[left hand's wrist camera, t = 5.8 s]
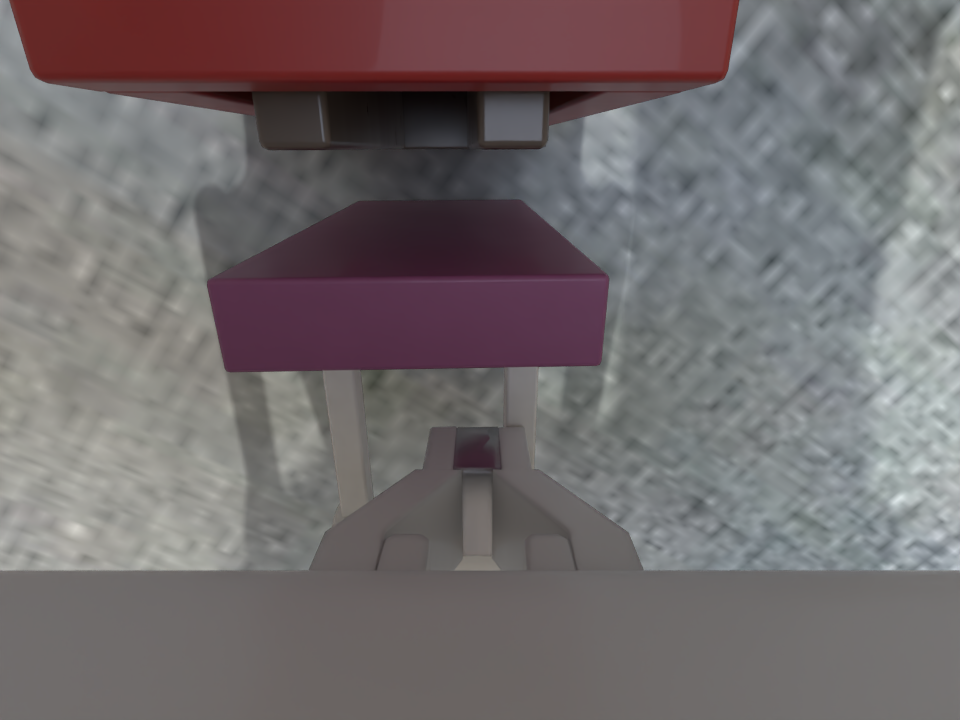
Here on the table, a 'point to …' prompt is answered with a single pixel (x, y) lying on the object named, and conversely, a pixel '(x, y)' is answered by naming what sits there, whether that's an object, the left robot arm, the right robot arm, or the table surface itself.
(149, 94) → the red yellow-edged box
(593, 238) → the table surface
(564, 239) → the drawer
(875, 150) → the table surface
